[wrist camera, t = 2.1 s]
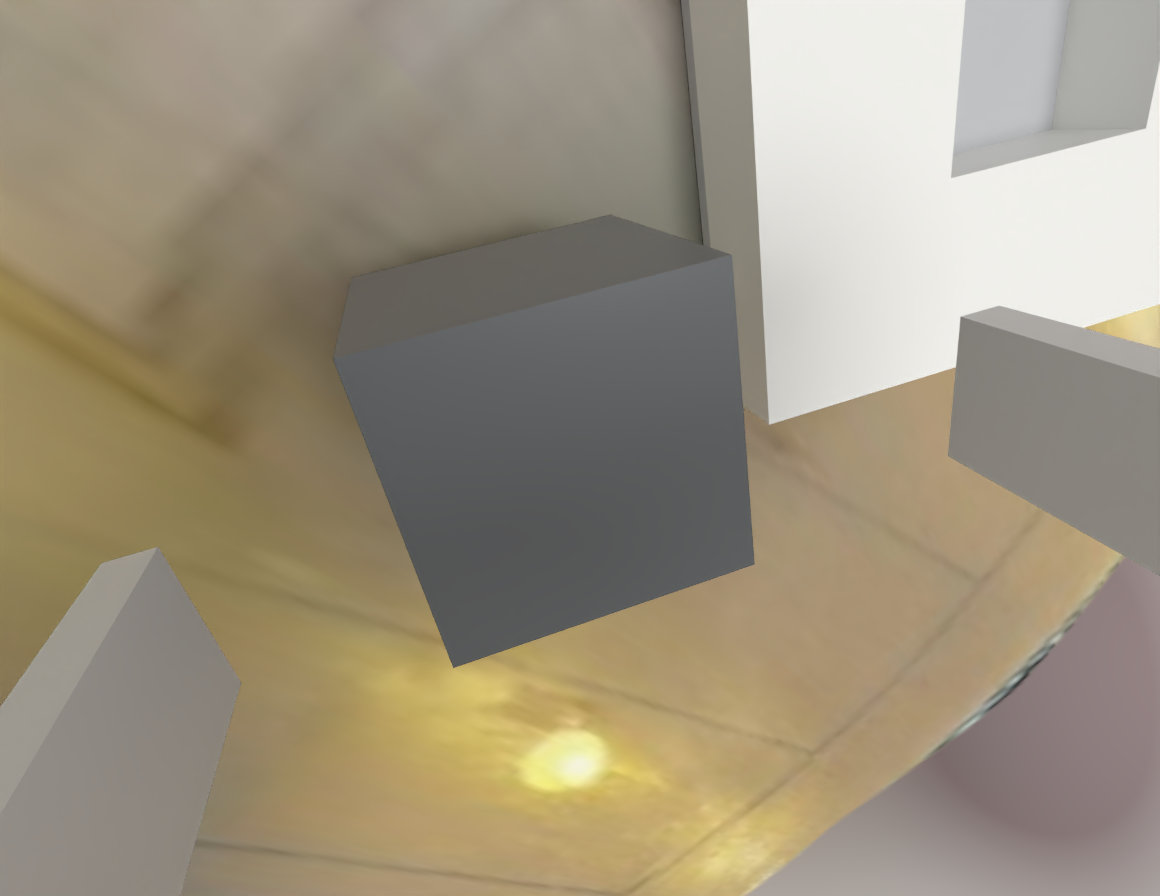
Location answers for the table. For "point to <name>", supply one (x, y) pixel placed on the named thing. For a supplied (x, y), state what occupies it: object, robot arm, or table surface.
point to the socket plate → (919, 177)
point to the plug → (554, 424)
